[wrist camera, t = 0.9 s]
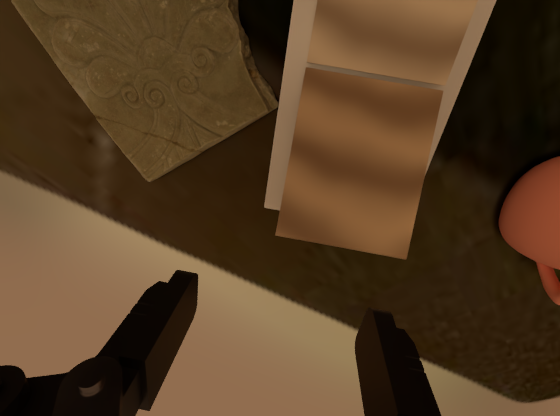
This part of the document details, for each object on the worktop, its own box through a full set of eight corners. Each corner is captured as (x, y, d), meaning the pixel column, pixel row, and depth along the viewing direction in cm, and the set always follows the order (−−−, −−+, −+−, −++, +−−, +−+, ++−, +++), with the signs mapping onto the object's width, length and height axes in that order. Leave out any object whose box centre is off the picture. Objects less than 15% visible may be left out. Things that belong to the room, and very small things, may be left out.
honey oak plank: (304, 73, 26) (305, 67, 25) (434, 96, 26) (443, 90, 24) (276, 232, 27) (275, 235, 26) (399, 255, 27) (406, 259, 26)
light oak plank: (322, -29, 23) (323, -35, 22) (471, -5, 23) (481, -9, 21) (307, 62, 26) (306, 62, 25) (438, 84, 26) (445, 85, 24)
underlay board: (299, -27, 24) (298, -33, 23) (486, 3, 24) (496, -1, 23) (265, 202, 34) (264, 207, 33) (398, 226, 34) (401, 232, 33)
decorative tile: (157, 177, 35) (142, 188, 32) (32, 2, 28) (-4, -6, 25) (294, 103, 30) (292, 108, 26) (181, -135, 23) (160, -169, 19)
